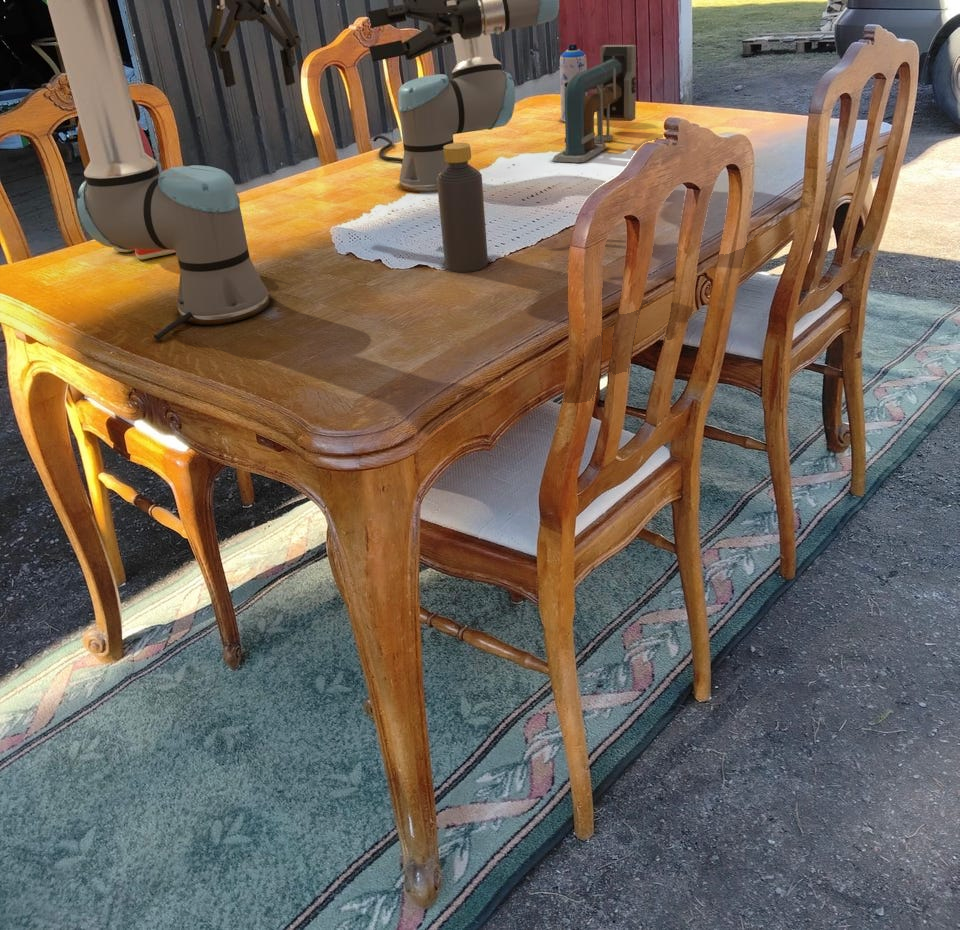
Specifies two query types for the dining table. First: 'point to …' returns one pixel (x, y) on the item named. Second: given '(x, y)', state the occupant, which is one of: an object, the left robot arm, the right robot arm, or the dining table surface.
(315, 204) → the dining table surface
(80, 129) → the toy
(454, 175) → the bottle
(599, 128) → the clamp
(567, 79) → the aerosol can
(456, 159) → the cap
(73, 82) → the left robot arm
